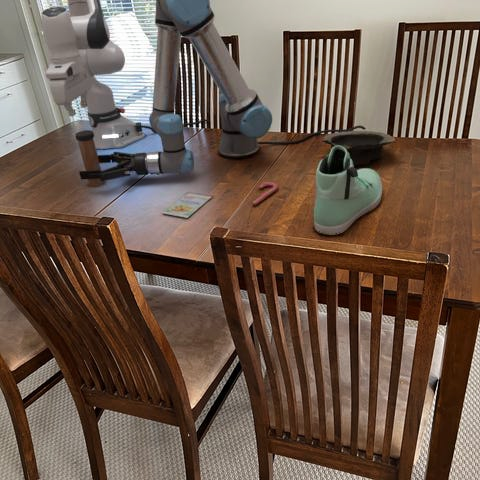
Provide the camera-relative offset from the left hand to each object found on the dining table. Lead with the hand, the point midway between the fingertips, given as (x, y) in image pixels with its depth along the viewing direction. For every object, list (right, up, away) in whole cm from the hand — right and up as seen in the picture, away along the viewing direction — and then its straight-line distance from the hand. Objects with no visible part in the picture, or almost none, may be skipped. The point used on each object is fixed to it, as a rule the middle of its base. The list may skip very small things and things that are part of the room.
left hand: (78, 111), depth 154 cm
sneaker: (+83, -32, -15) cm, 91 cm away
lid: (+1, -7, +4) cm, 8 cm away
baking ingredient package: (+36, -31, -6) cm, 48 cm away
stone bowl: (+93, -12, +17) cm, 96 cm away
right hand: (-1, -17, +10) cm, 19 cm away
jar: (+2, -22, +13) cm, 26 cm away
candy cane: (+59, -28, -4) cm, 65 cm away
